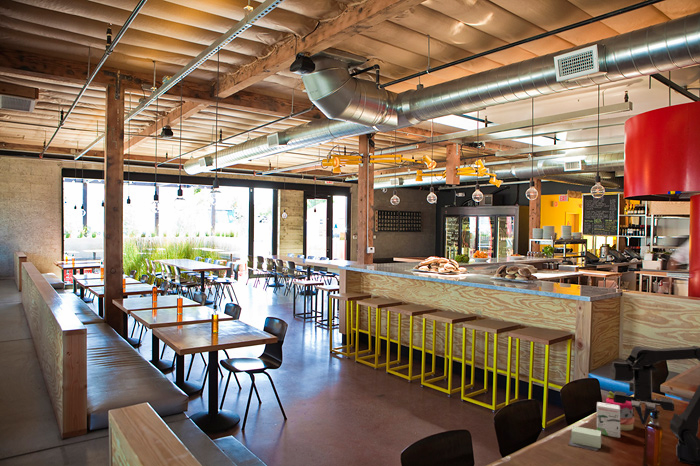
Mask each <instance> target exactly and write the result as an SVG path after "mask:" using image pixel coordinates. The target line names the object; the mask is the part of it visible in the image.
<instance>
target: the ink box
mask: <svg viewBox="0 0 700 466" xmlns="http://www.w3.org/2000/svg"><path fill="white" fill-rule="evenodd" d="M596 430H598V431H601V436H602V435H603V436H607V437H608V436H609V437H614V438H621V430H620V406H619V405H614V404H607V403H606V402H600V401H597V402H596Z"/></svg>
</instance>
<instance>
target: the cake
mask: <svg viewBox="0 0 700 466" xmlns="http://www.w3.org/2000/svg"><path fill="white" fill-rule="evenodd" d="M605 401H606V402H605V403H607V404H614V405H619V406H620V431H632V430H634V423H635V414H634V410H635V408H634V407H632V403H631V401H626V402H625V403H624V404H622V403H616V402H614V392H613V391H609V392H608V395H606V399H605Z"/></svg>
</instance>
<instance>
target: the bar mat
mask: <svg viewBox="0 0 700 466" xmlns="http://www.w3.org/2000/svg"><path fill="white" fill-rule="evenodd" d="M568 446H571V447H576V448H581V449H586V450H592V451H596V452H598V451H599V448H596V447H592V446H587V445H582V444H577V443H572V434H571V436H570V439H569V442H568Z"/></svg>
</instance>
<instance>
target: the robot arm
mask: <svg viewBox="0 0 700 466" xmlns="http://www.w3.org/2000/svg"><path fill="white" fill-rule="evenodd" d="M694 359H695V360H697V361H698V362H700V346H697V345H692V346H684V347H683V346H680V347H666V348H665V347H662V348H656V347H655V348H654V347H650V346H640V345H637V346H634V347H633V348H632V349H631V351H630V354H629V356H628V357H627V358H626V359H625V360H624V362H623V361H622V362H619V361H612V362H611V365H610V369H609V374H610V375H609V376H610V378H611V380H612V381H615V382H616V381H618V382H629V383H628V387H629V388H628V389H629V390H628V391H629V392H632V393H633V396H632V395H627V393H626V392H623V391H618V390H617V391H614V392H613V394H614V402H616V403H622V404H624V403H625V402H626V401H631V403H632V407H633V408H634V410H635V411H636V412H637V414H638V417H639V420H640V422H641V424H642V425H643V426H644V425H645V424H646V423H647V420H648V417H649V416H650V414H651V413H652V411H656V406H657V407H658V406H660V407H661V408H662V410H664V411H669V412H674V411H675V403H674V400H673V399H672V398H664V397H660V399H659V400H658V399H653V380H652V379H653V378H652V376H653V373H652V372H658V371H659V369H658V368H657V367H656V366H655V364H658V363H660V362H663V361H678V360H680V361H682V360H694ZM631 381H633V382H631ZM641 404H644V410H642V405H641ZM643 411H644V412H643ZM699 420H700V384H699V385H698V386H697V389H696V390H695V392H694V393H693V395H692V397H691V399H690V401H689V402H688V404H687V406H686V407H685V409H684V411H683V412H682V413H680V414H677V412H674V413H673V415H672V418H671V419H670V420H669V423H670V424H669V429H670V432H672V434H674V435H675V438H676V439H678V440H677V443H676V444H675V446H676V449H675V450H676V458H678V462H680V463H684V464H691V465H695V466H696V465H697V466H700V437H698V432H699Z"/></svg>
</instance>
